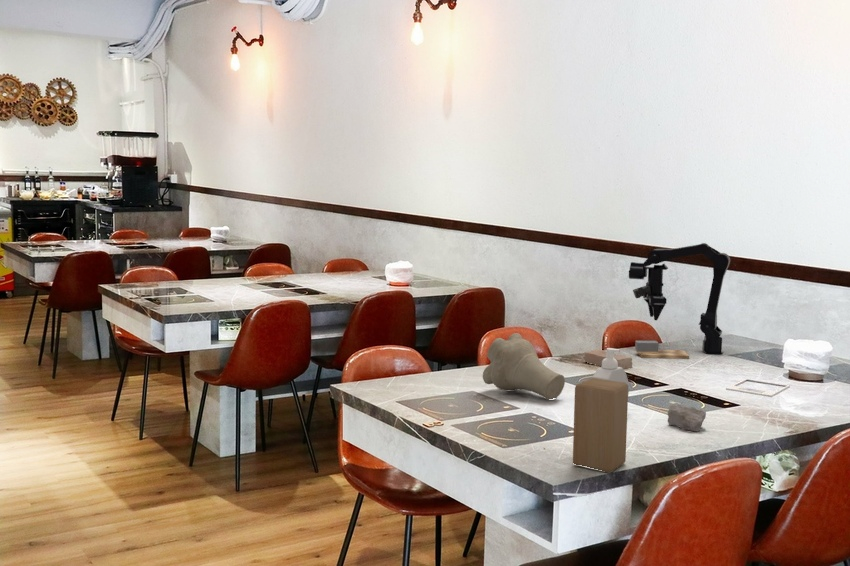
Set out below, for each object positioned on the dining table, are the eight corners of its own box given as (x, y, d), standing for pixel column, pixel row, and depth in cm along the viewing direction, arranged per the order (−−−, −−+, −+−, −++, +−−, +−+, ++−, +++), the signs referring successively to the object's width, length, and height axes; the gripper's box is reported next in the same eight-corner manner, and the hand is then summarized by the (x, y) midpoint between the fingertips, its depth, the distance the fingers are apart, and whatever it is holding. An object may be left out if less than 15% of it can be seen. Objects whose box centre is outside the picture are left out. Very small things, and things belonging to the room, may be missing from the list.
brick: (633, 368, 323) (633, 355, 322) (619, 371, 318) (619, 358, 317) (597, 361, 336) (597, 348, 335) (583, 364, 330) (583, 351, 330)
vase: (596, 358, 274) (528, 325, 293) (555, 357, 258) (486, 322, 277) (573, 422, 278) (507, 386, 296) (531, 425, 262) (465, 386, 281)
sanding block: (655, 350, 348) (656, 340, 347) (658, 353, 343) (658, 343, 343) (635, 350, 349) (635, 340, 348) (637, 353, 344) (637, 342, 343)
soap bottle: (603, 424, 248) (606, 354, 245) (586, 421, 251) (589, 351, 249) (629, 412, 260) (631, 346, 258) (612, 409, 264) (615, 343, 261)
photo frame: (726, 387, 290) (745, 378, 304) (725, 390, 290) (745, 381, 304) (771, 395, 281) (789, 385, 295) (771, 398, 281) (789, 388, 295)
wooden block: (588, 455, 220) (591, 376, 217) (626, 463, 214) (630, 382, 212) (570, 466, 211) (573, 384, 209) (610, 474, 206) (613, 390, 203)
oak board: (683, 353, 350) (683, 350, 350) (689, 358, 339) (689, 355, 339) (636, 352, 352) (636, 349, 351) (641, 357, 341) (641, 354, 341)
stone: (663, 428, 245) (664, 407, 244) (671, 421, 252) (672, 401, 251) (699, 434, 240) (700, 413, 239) (706, 427, 247) (707, 406, 246)
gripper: (631, 277, 368) (629, 314, 370) (638, 282, 349) (637, 321, 351) (658, 277, 367) (657, 315, 369) (667, 283, 349) (665, 322, 351)
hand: (653, 318), depth 360 cm, fingers open, 9 cm apart
